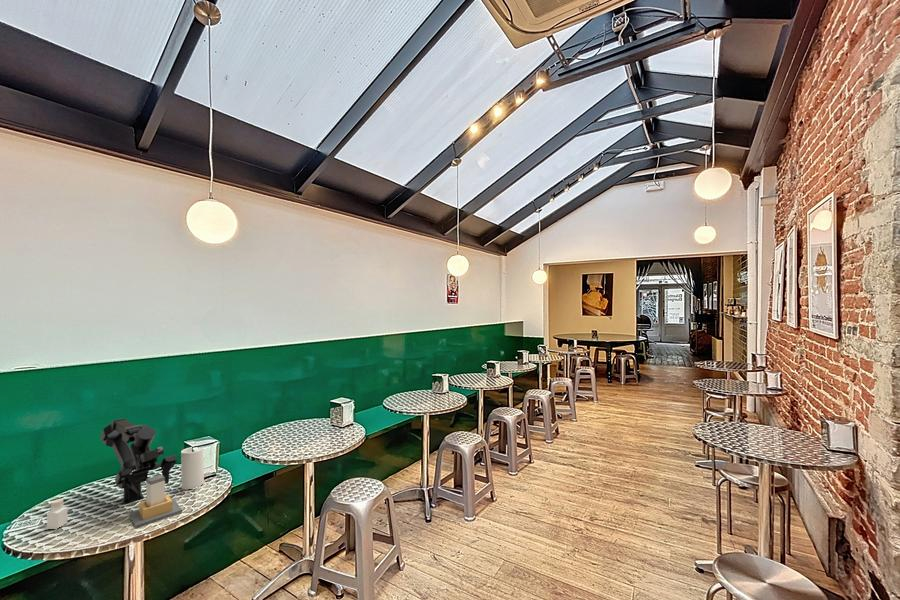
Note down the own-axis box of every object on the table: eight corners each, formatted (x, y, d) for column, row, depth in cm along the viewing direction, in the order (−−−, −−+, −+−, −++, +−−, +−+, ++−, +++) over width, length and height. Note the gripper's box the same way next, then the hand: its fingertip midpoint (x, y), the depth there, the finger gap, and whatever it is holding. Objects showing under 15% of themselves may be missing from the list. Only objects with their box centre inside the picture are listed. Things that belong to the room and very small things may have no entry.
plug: (146, 512, 146) (146, 478, 147) (160, 507, 150) (159, 474, 150) (151, 515, 144) (150, 481, 144) (165, 509, 148) (164, 477, 148)
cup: (208, 482, 173) (207, 446, 173) (190, 491, 165) (190, 453, 165) (195, 480, 175) (194, 445, 176) (177, 488, 168) (176, 451, 168)
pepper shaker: (68, 523, 142) (68, 497, 142) (57, 530, 138) (57, 503, 138) (57, 524, 142) (56, 498, 142) (46, 530, 138) (45, 503, 138)
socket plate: (129, 514, 147) (129, 503, 147) (173, 500, 157) (173, 489, 157) (135, 528, 137) (135, 515, 137) (182, 512, 147) (182, 500, 147)
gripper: (117, 449, 144) (129, 486, 137) (174, 435, 159) (187, 467, 153) (110, 466, 148) (121, 503, 142) (166, 450, 163) (178, 483, 157)
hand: (153, 488), depth 148 cm, fingers open, 9 cm apart
